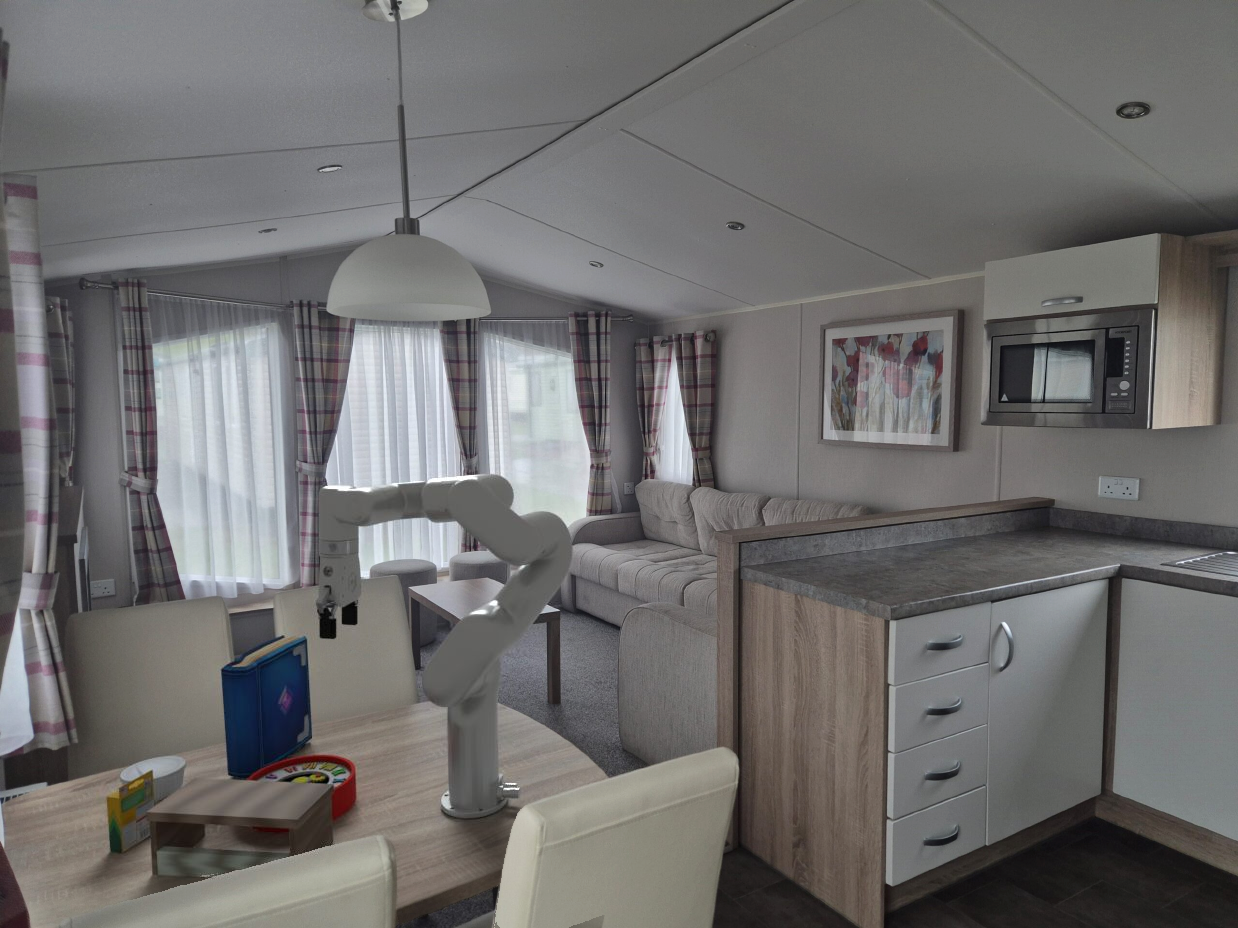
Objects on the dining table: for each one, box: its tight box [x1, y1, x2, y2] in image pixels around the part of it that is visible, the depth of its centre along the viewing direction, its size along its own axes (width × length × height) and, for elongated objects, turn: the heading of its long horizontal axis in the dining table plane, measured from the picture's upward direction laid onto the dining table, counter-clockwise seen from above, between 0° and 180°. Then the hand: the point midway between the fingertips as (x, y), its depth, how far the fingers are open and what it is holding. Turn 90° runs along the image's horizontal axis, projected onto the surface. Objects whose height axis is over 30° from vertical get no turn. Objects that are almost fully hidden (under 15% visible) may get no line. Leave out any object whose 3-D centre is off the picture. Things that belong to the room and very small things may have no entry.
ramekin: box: [119, 755, 187, 803], centre depth 155 cm, size 11×11×5 cm
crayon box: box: [106, 770, 156, 854], centre depth 137 cm, size 7×3×12 cm, turn 166°
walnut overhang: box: [146, 777, 334, 879], centre depth 131 cm, size 26×12×10 cm, turn 83°
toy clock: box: [246, 754, 357, 834], centre depth 149 cm, size 20×6×20 cm
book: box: [220, 634, 313, 780], centre depth 169 cm, size 22×7×25 cm, turn 168°
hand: (339, 631), depth 157 cm, fingers open, 9 cm apart
